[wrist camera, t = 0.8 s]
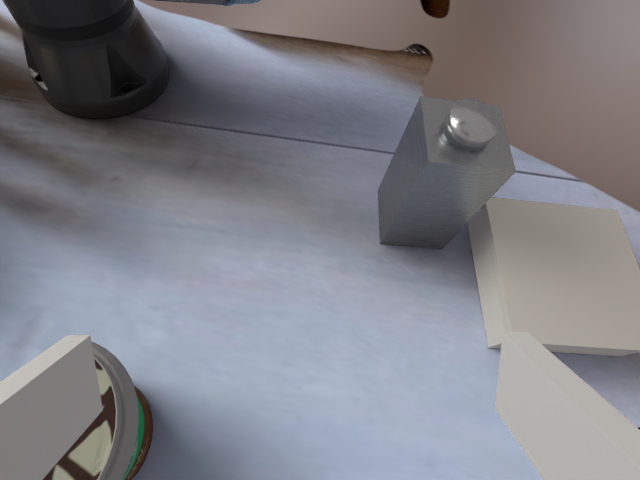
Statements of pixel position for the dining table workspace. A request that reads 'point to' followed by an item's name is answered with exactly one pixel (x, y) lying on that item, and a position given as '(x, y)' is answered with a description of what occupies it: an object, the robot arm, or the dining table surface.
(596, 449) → the robot arm
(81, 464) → the food container
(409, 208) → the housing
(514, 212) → the plinth
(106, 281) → the dining table surface
